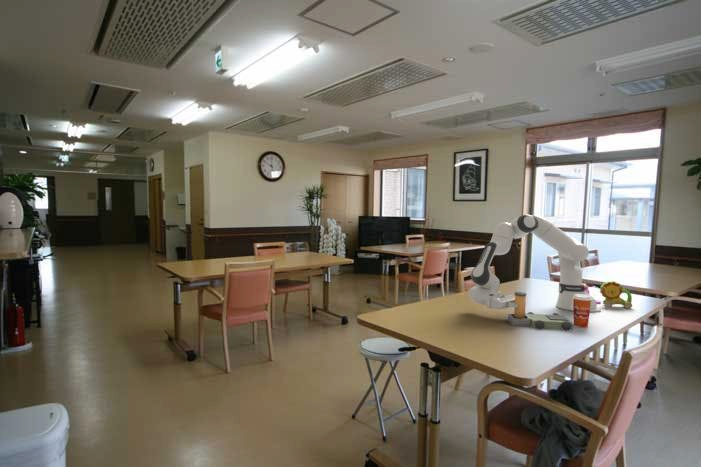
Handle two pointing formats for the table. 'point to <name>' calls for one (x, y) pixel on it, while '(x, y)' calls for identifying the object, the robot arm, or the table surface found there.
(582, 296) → the coffee cup
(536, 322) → the toy wheeled cart
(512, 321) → the box
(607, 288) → the toy lion
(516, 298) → the orange and grey cylinder
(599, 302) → the bracket
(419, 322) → the table surface
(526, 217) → the robot arm
